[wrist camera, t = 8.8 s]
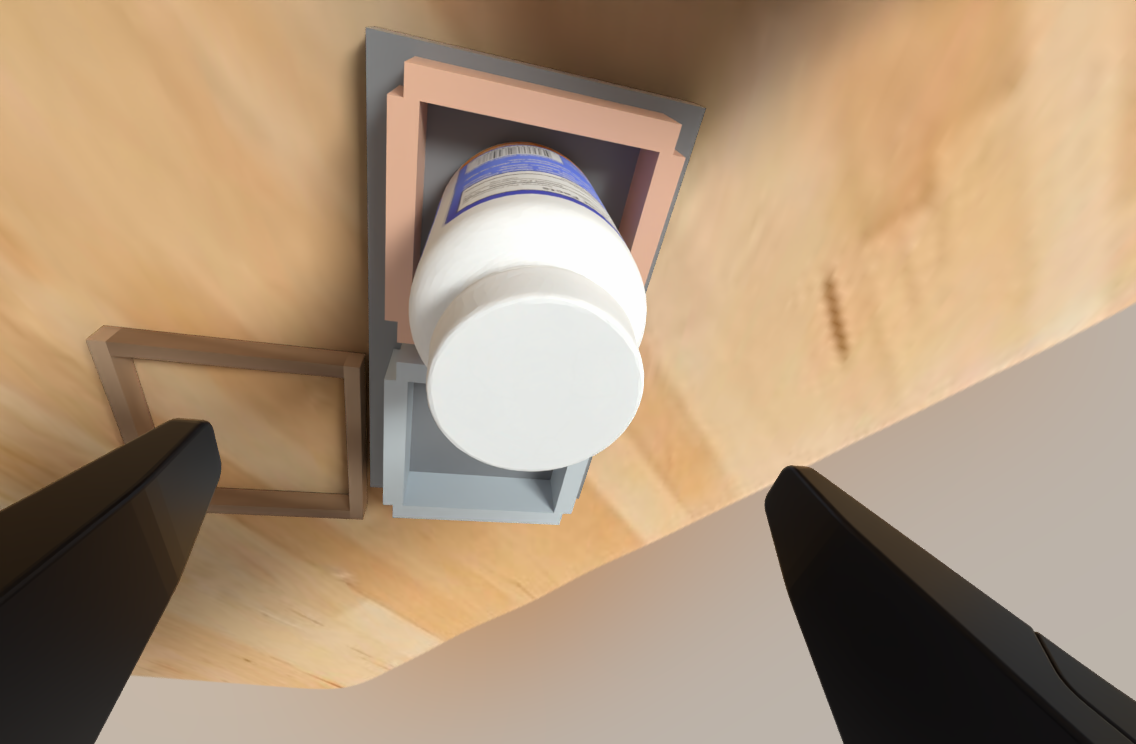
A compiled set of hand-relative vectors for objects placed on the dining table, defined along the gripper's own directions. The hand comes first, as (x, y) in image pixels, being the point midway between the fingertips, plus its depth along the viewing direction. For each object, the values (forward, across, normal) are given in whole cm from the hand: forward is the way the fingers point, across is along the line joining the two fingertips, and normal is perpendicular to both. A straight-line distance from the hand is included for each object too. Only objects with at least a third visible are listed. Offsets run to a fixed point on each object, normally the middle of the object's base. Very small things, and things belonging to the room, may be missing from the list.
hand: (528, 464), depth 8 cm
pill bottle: (+11, 0, 0) cm, 11 cm away
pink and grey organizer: (+12, 0, +4) cm, 13 cm away
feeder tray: (+12, +10, +11) cm, 19 cm away
